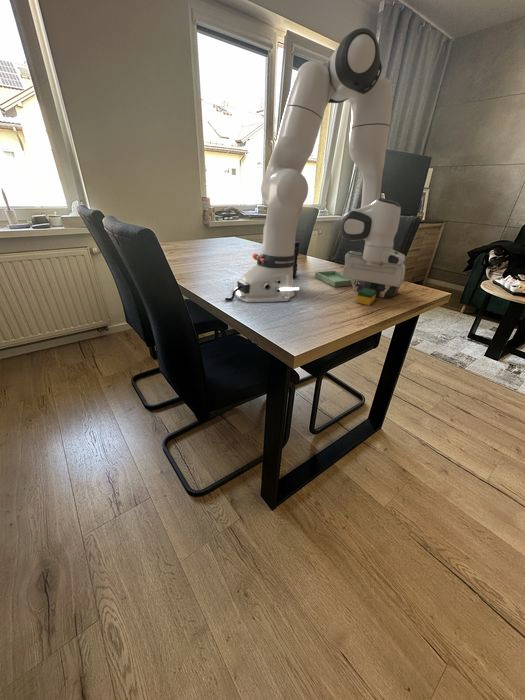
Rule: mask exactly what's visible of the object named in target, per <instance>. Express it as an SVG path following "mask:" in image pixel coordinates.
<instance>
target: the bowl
mask: <svg viewBox="0 0 525 700" xmlns="http://www.w3.org/2000/svg"><path fill="white" fill-rule="evenodd" d="M356 286H358V291H357V292H358V293H359V292H360V291H361V290H362V289H364V288H367V289H372V290H377V292H376V296H375V298H380V299H381V298H382V299H385V298H386V299H387V298H388V299H389V298H394V297H395V296H397V295H398V294H399V291H400V288H401V286H399V287H395V286H390V288H389V289H388V290H387V291H386V292H385V296H384V297H379V295H380V292H381V291H384V290H385V289H386V288H385V285H383V284H377V283H372V282H366V281H360V280H357V281H356Z"/></svg>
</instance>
